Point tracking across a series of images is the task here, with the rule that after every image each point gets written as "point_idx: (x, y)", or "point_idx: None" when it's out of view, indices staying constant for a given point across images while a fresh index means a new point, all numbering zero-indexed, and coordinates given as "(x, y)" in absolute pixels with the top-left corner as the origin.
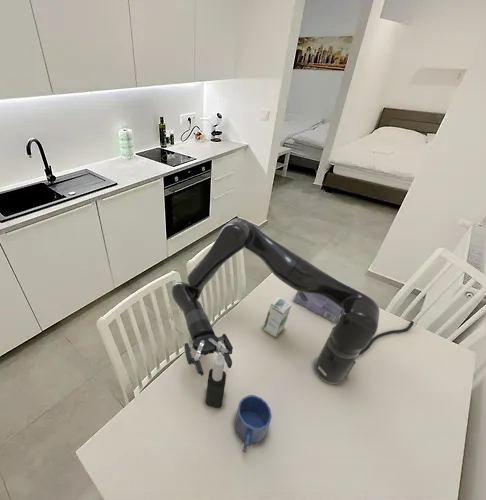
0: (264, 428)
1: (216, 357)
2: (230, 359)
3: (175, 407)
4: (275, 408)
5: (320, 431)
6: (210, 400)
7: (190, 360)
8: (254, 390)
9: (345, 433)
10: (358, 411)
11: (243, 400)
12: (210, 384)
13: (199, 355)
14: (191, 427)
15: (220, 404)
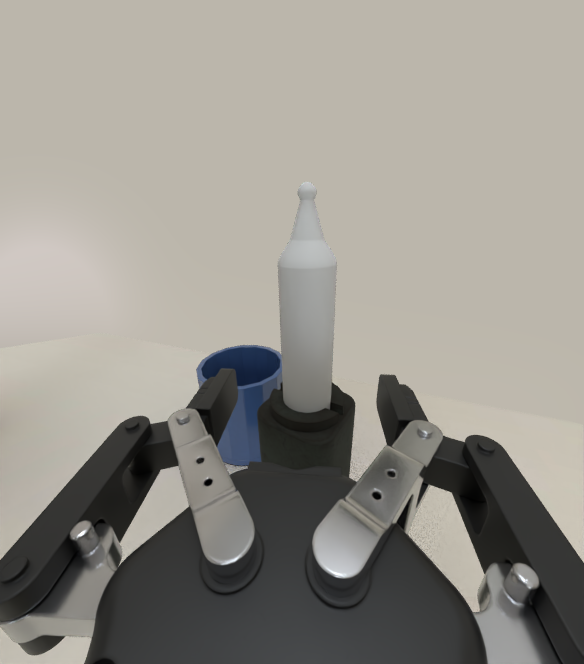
0: (246, 345)
1: (321, 241)
2: (204, 389)
3: (476, 563)
4: None
5: (133, 392)
6: None
7: (474, 438)
8: (155, 507)
9: (104, 381)
10: (34, 394)
11: (248, 385)
12: (346, 394)
13: (396, 443)
14: None
15: None
